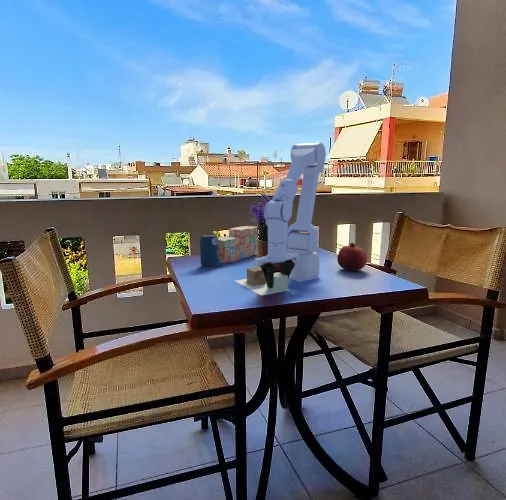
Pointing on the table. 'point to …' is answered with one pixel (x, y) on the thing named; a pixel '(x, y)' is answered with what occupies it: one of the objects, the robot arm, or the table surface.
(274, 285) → the sage block
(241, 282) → the build mat
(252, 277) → the walnut block
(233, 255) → the stack of blocks
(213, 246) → the soda can
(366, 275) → the table surface
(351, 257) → the fruit
